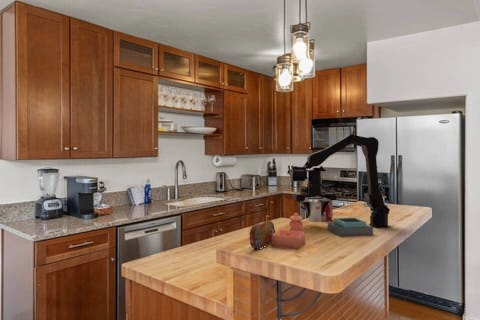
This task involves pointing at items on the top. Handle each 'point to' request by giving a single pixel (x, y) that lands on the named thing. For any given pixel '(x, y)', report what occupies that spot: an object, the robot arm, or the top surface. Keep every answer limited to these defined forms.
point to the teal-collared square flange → (350, 227)
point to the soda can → (327, 212)
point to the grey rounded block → (315, 212)
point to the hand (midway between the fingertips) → (314, 216)
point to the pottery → (290, 234)
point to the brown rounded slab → (261, 234)
